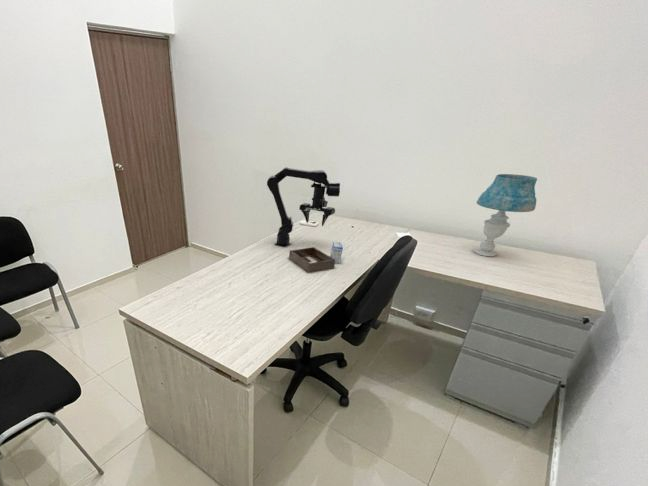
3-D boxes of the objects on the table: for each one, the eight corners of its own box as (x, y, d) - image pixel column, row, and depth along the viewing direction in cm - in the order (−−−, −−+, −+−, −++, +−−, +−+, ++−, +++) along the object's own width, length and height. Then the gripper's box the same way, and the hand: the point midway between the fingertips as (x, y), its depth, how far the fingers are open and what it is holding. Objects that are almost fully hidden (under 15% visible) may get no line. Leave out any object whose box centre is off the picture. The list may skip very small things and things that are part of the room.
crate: (288, 258, 174) (289, 250, 171) (312, 254, 178) (313, 246, 176) (308, 272, 158) (309, 264, 156) (333, 268, 163) (335, 259, 161)
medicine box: (330, 256, 175) (332, 241, 171) (338, 257, 175) (341, 242, 170) (331, 262, 169) (334, 246, 164) (340, 263, 168) (343, 247, 164)
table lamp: (463, 258, 173) (494, 179, 153) (455, 243, 192) (481, 171, 173) (518, 264, 166) (557, 182, 146) (504, 248, 185) (537, 174, 165)
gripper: (341, 195, 175) (336, 224, 183) (309, 191, 186) (306, 218, 193) (332, 199, 168) (328, 228, 176) (300, 194, 178) (297, 222, 186)
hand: (314, 224), depth 183 cm, fingers open, 9 cm apart
